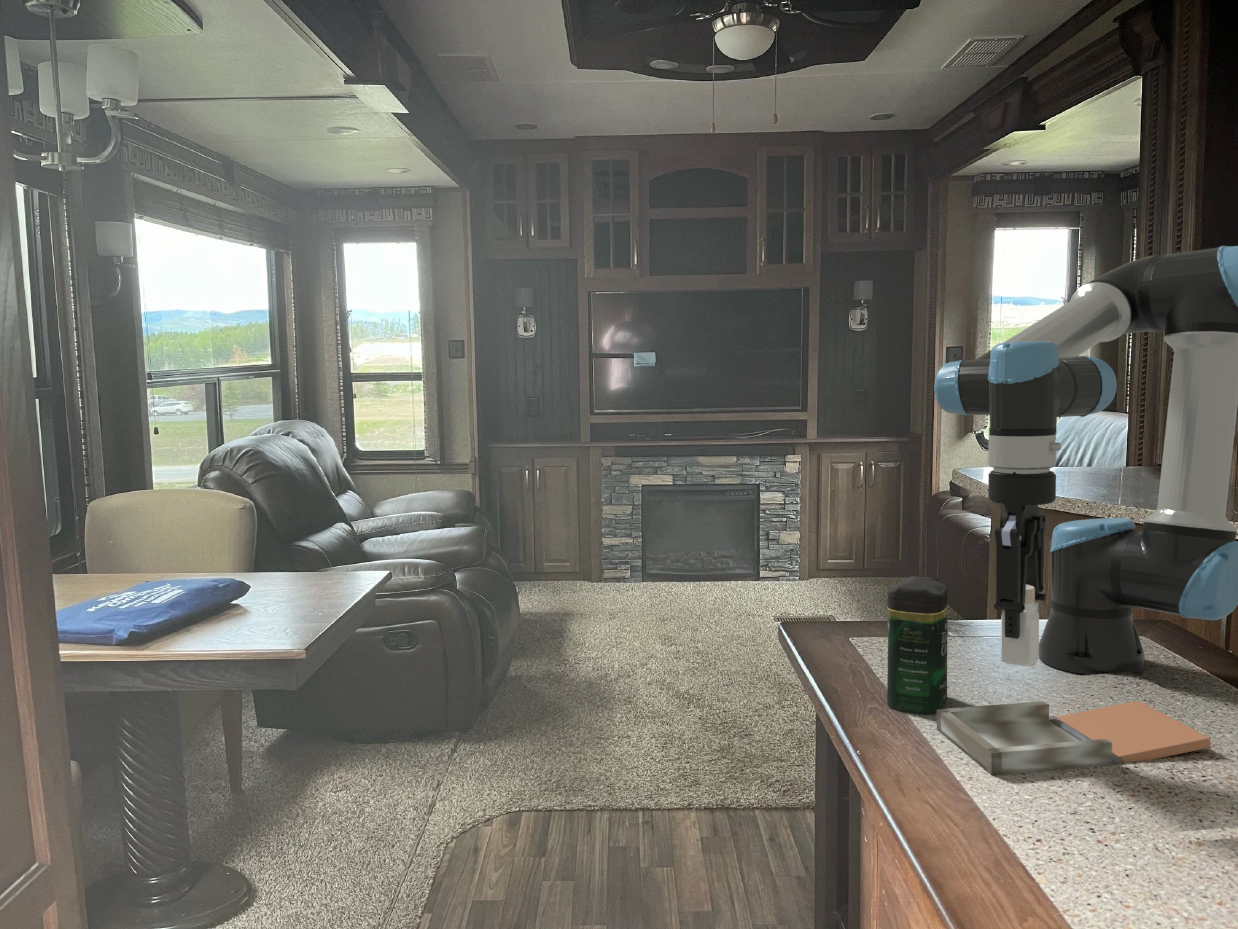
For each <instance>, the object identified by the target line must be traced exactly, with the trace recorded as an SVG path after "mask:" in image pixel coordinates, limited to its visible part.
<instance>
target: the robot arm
mask: <svg viewBox="0 0 1238 929" xmlns="http://www.w3.org/2000/svg"><path fill="white" fill-rule="evenodd" d="M1146 332H1164V333H1163V335H1164V336H1163V341H1164V342H1165V343H1166V344H1167V345H1168V346H1169V347H1170V348H1172V350H1173V358H1172V359H1173V360H1172V361H1173V362H1172V367H1171V369H1172V370H1171V377H1170V387H1169V395H1168V396H1169V397H1168V405H1167V415H1166V416H1167V417H1166V425H1165V433H1164V442H1163V450H1162V452H1163V453H1162V460H1161V468H1160V469H1161V470H1160V480H1159V486H1158V488H1159V491H1158V498H1157V508H1156V510H1155V511H1154V512H1153V513H1151V514H1149V515H1148V516H1147V517H1146V518H1145V519H1144V521H1143V528H1142V530H1135V529H1136V524H1135V521H1134V520H1132V519H1131V518H1125V517H1124V518H1123V517H1104V518H1089V519H1079V520H1072V521H1066V522H1062V523H1059V524H1058V525H1056V526H1055V527H1054V528H1053V531H1052V535H1051V536H1052V537H1051V545H1050V546H1051V547H1050V550H1049V552H1050V555H1051V556H1050V595H1051V596H1050V613H1049V616H1048V618H1047V621H1046V624H1045V626H1044V629H1043V632H1042V634H1041V638H1039V639H1040V640H1039V656H1038V659H1039V660H1040V661H1041V662H1043V663H1044V664H1046V665H1048V666H1050V667H1052V668H1055V669H1058V670H1061V671H1065V672H1070V673H1074V674H1080V675H1087V676H1093V675H1106V674H1118V673H1119V674H1121V673H1131V674H1132V675H1134V674H1138V673H1140V672H1142V671H1143V670H1144V669H1145V653H1144V648H1143V645H1142V643H1141V640H1140V637H1139V635H1138V632H1137V628H1136V625H1135V623H1134V618H1133V607H1134V608H1137V609H1138V608H1139V609H1144V610H1148V611H1149V610H1150V611H1155V612H1160V613H1166V614H1170V615H1175V616H1181V617H1182V618H1183V619H1184V618H1185V619H1200V620H1206V621H1217V620H1221V619H1223V618H1226V617H1227V616H1229V615H1231V613H1233V612H1234V610H1235V609H1236V608H1237V607H1238V541H1237V532H1238V530H1237V528H1236V526H1234V525H1233V524H1232V523H1231V521H1229V520H1228V518H1227V516H1226V515H1227V508H1228V507H1227V506H1228V497H1229V496H1228V495H1229V489H1230V488H1229V487H1230V480H1231V479H1230V478H1231V471H1232V469H1231V468H1232V461H1233V460H1232V459H1233V451H1234V441H1235V432H1236V425H1237V416H1238V415H1237V412H1238V245H1235V246H1234V245H1233V246H1231V245H1229V246H1228V245H1221V246H1218V247H1212V248H1203V249H1198V250H1190V251H1189V250H1188V251H1184V252H1177V253H1166V254H1157V255H1156V254H1154V255H1149V256H1144V257H1142V258H1138V259H1134V260H1133V261H1130V262H1127V263H1124V264H1122V265H1120V266H1117V267H1116V268H1113V269H1111V270H1109V271H1107V272H1105V273H1103V274H1101V275H1099V276H1098V277H1096V278H1094V279H1092V280H1091V281H1089V282H1088V283H1086V284H1084V285H1082V286H1080V287H1078V289H1077V290H1076V291H1075V292H1074V293H1073V294H1072V296H1071V297H1070V299H1069V301H1068V302H1067V303H1066V304H1065V303H1064V304H1063V305H1062V306H1060V307H1058V308H1057V309H1056V310H1054V311H1053V312H1050V313H1049V314H1047V315H1046V316H1044V317H1042V318H1041V319H1039V320H1037V321H1036V322H1034V323H1033V324H1031V325H1029V326H1028V327H1026V328H1025V329H1023V330H1021V331H1020V332H1017V333H1016V334H1015V335H1013V336H1011V337H1009V338H1008V339H1006V340H1005V341H1004V342H1001V343H997V344H995V345H994V346H993V347H992V348H991V349H990V350H988V351H987V352H985V353H983V354H981V355H980V356H978V357H977V358H975V359H972V360H966V359H960V360H957V361H950V362H947V363H945V364H944V365H942V366H941V367H940V368H939V370H938V372H937V374H936V376H935V379H934V384H933V385H934V386H933V388H934V390H933V391H934V394H935V400H936V403H937V404H938V406H939V407H940V409H941V410H943V411H944V412H946V413H949V414H954V415H955V414H956V415H964V416H989V427H988V428H989V430H988V447H987V448H988V449H987V450H988V452H987V454H988V456H987V458H988V459H987V460H988V461H987V463H988V464H987V465H988V466H989V467H990V468H992V470H990V473H988V482H987V483H988V492H987V493H988V496H987V497H988V499H989V500H990V501H991V502H994V503H996V504H1002V505H1003V506H1004V510H1003V515H1002V517H1000V520H999V527H995V530H994V538H995V547H996V549H995V550H996V553H995V554H996V556H995V557H996V560H995V561H996V563H995V564H996V565H995V566H996V571H995V573H996V574H995V576H996V577H995V580H996V588H995V591H996V592H995V596H996V597H995V603H994V604H993V608H994V609H995V610H999V611H1001V616H1002V658H1001V657H1000V659H1001V662H1002V661H1003V662H1002V663H1004V662H1009V663H1015V664H1021V665H1025V664H1027V611H1024V609H1025V606H1024V605H1025V591H1026V585H1030V586H1033V587H1034V588H1035V603H1034V611H1035V612H1038V613H1039V601H1041V602H1045V601H1046V597H1047V594H1045V593H1043V591H1044V589H1045V588H1044V587H1045V586H1044V566H1045V564H1044V560H1045V558H1044V557H1045V529H1046V521H1047V518H1046V514H1040V510H1039V506H1041V505H1048V504H1051V503H1053V502H1054V501H1055V500H1056V497H1057V494H1056V493H1057V474H1055V472H1054V471H1052V470H1051V469H1053V468H1054V467H1055V466H1056V464H1057V463H1056V462H1057V453H1056V452H1058V451H1061V450H1062V444H1061V443H1060V442H1056V440H1057V419H1058V418H1067V417H1068V418H1069V417H1081V418H1084V417H1087V416H1089V415H1094V414H1097V413H1100V412H1101V411H1103V410H1105V409H1107V407H1109V406H1110V404H1111V403H1112V402H1113V400H1114V398H1115V395H1116V393H1117V387H1118V383H1117V382H1118V381H1117V378H1116V377H1117V376H1116V373H1115V371H1114V370H1113V368H1112V367H1111V366H1110V365H1109V364H1108V363H1107V362H1106V361H1104V360H1103V359H1100V358H1097V357H1092V356H1087V355H1081V354H1083V353H1085V352H1086V351H1088V350H1089V349H1091V348H1093V347H1094V346H1096V345H1097V344H1098V343H1107V342H1111V341H1114V340H1116V339H1118V338H1119V337H1121V336H1124V335H1127V334H1135V333H1146ZM1021 665H1020V666H1021Z"/></svg>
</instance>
